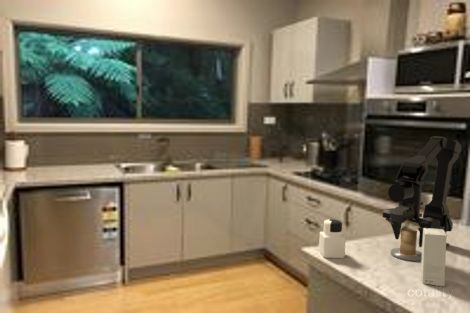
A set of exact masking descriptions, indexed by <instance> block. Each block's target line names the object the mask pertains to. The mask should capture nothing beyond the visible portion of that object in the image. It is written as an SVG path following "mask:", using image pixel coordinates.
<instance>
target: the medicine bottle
mask: <svg viewBox="0 0 470 313" xmlns="http://www.w3.org/2000/svg"><path fill="white" fill-rule="evenodd" d="M342 230H343V222H342V221H340V220H339V219H338V220H337V219H334V218H333V219H332V218H329V219H325V220H324V221H323V231H319V241H318V251H319V252H320V253H319V254H321V256H322V257H323V259H345V256H346V237H345V236H344V234H342V233H343V232H342Z"/></svg>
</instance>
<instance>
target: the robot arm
mask: <svg viewBox="0 0 470 313" xmlns="http://www.w3.org/2000/svg"><path fill="white" fill-rule="evenodd" d="M461 152H462V144H461V143H460V142H459V141H458V140H452V139H448V138H447V137H444V136H435V135H434V136H431V137H429V139H428V142H427V143H426V144H425V145H424V146H423V147H422V148H421V149H420V151H419V152H418V153H416V155H414V156H412V157H409V158H407V159H405V160H404V162H402V164H401V166H400V167H399V170H398V172H397V174H396V177H395V179H394V184H392V185H390V186H389V188H388V190H387V194H388V197H389V199H390V200H391V201H392V202H395V203H398V206H396V207H394V208H387V209H386V208H385V209H384V210H383V211H382V218H383V219H385V221H387V222H388V223H389V224H390V225H391V227H392V228H391V229H392V233H393V235H394V238H395V240H399V238H400V237H401V229H402V224H404V223H405V222H406V221H408V222H411V223H415V224H418V226H419V227H417V231H418V232H419V238H418V248H422V242H423V228H433V229H443V230H444V231H445V233H446V234H447V232H452V231H453V226H454V224H453V221H452V219H451V217H450V209H449V207H448V205H447V198H448V192H449V187H450V186H449V185H450V181H451V175H452V168H453V164H455V162H456V161H458V159H459V156H460V154H461ZM434 159H436V162H437V165H436V172H435V179H434V184H433V190H432V196H431V200H430V202H429V203H428V204H425V206H424V211H423V213H421V206H423V204H424V202H423V201H421V199H422V198H421V197H422V187H423V185H425V182H424V179H425V177H426V176H427V174H428V172H429V170H428V166H429V165H430V163H432V161H433V160H434ZM447 246H450V243H449V242H448V243H447V242H446V247H447Z"/></svg>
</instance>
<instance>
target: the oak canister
mask: <svg viewBox="0 0 470 313" xmlns="http://www.w3.org/2000/svg"><path fill="white" fill-rule="evenodd" d="M417 238H418V230H416V229H413V228H405V227H403V228H401V230H400V242H399V244H400V245H399V246H400V247H399V248H400V253H401V254H404V255H409V256H413V255H415V254H416V250H417V240H418V239H417Z"/></svg>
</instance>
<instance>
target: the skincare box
mask: <svg viewBox="0 0 470 313" xmlns="http://www.w3.org/2000/svg"><path fill="white" fill-rule="evenodd" d="M447 236H448V235H447V232H446V233H445V231H444V230H443V229H433V228H423V242H422V247H421V252H422V261H420V262H421V265H420V266H421V267H420V268H421V269H420V275H421V280H422V284H424V285H425V284H426V285H431V286H437V287H441V288H442V287H443V288H444V287H445V279H446V257H447V254H446V253H447V246H446V243H447Z"/></svg>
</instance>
